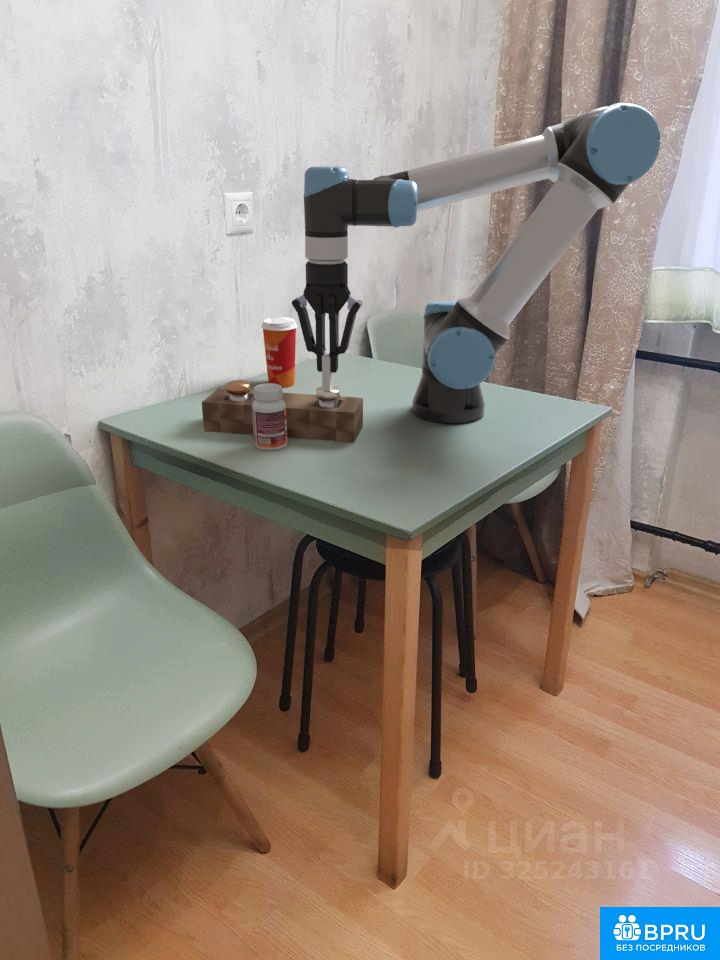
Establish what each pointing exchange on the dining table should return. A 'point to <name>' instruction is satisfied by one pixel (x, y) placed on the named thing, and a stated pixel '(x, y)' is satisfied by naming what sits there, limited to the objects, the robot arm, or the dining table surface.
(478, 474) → the dining table surface
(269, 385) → the pill bottle
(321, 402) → the knob
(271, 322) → the coffee cup
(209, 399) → the brown wooden long block
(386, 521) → the dining table surface
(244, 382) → the knob
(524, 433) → the dining table surface
